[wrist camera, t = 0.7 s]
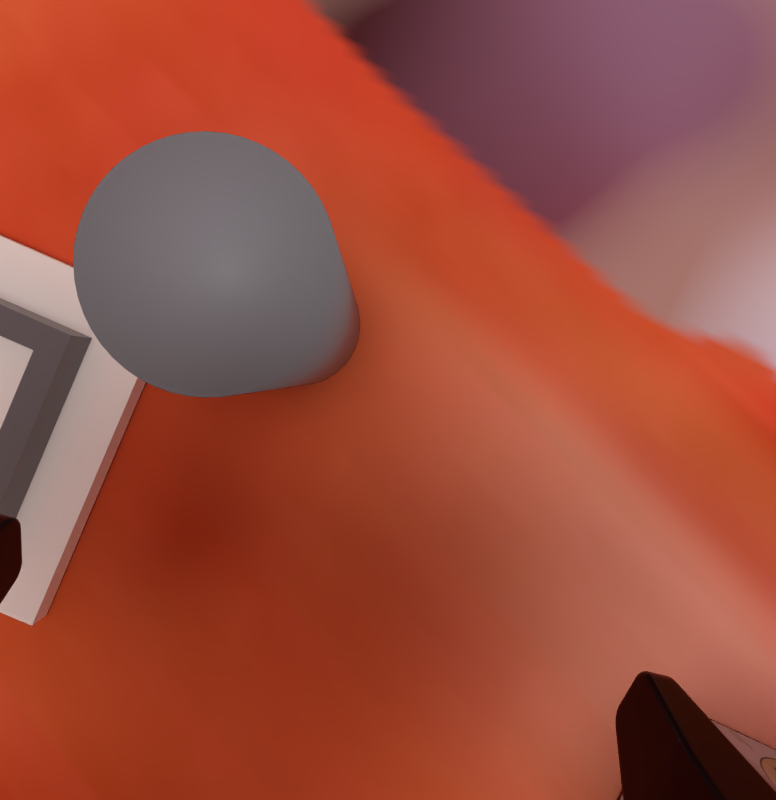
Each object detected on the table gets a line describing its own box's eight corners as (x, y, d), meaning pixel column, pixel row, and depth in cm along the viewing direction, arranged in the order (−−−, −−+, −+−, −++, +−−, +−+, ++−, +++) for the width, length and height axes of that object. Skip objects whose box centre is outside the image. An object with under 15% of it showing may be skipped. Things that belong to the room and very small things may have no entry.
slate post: (330, 404, 24) (275, 439, 11) (216, 355, 23) (32, 333, 11) (379, 291, 23) (380, 198, 11) (265, 241, 23) (134, 87, 11)
